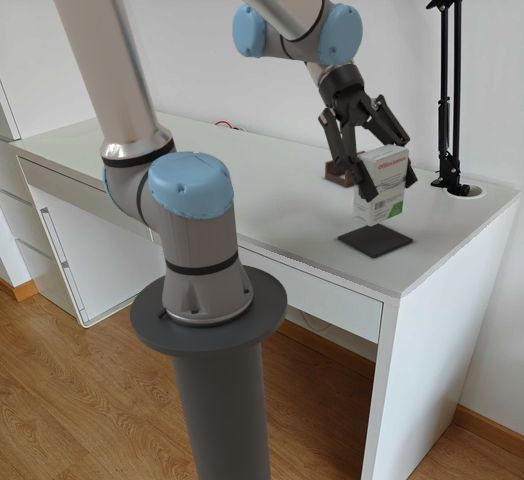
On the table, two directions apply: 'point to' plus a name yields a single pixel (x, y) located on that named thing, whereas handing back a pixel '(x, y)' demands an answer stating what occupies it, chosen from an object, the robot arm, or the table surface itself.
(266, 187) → the table surface
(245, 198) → the table surface
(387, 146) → the ink box
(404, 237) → the mat
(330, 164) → the holder
